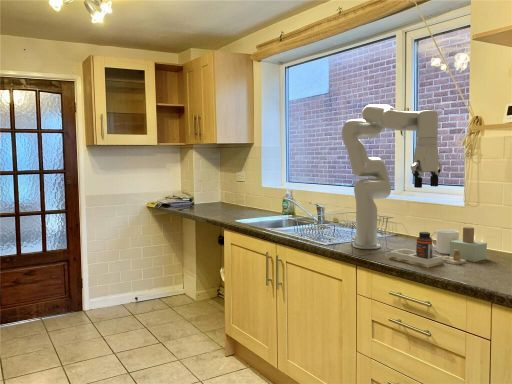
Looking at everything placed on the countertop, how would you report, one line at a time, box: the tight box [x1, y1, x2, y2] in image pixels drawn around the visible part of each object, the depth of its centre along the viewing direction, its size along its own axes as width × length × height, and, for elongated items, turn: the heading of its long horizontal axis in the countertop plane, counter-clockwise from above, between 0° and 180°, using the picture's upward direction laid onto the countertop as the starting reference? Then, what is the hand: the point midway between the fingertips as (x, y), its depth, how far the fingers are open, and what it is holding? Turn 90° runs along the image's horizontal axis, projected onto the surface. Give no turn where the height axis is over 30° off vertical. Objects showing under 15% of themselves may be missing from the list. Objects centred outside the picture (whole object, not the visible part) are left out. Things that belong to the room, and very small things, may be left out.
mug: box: [430, 228, 460, 255], centre depth 203 cm, size 12×9×9 cm
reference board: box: [442, 250, 467, 266], centre depth 185 cm, size 9×6×5 cm
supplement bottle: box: [415, 231, 433, 259], centre depth 182 cm, size 6×6×11 cm
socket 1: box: [389, 248, 416, 260], centre depth 190 cm, size 9×9×2 cm
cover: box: [449, 226, 488, 263], centre depth 190 cm, size 11×8×13 cm
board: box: [388, 254, 445, 269], centre depth 187 cm, size 19×10×1 cm, turn 33°
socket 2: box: [408, 253, 443, 265], centre depth 183 cm, size 9×9×2 cm
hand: (426, 186), depth 180 cm, fingers open, 9 cm apart
